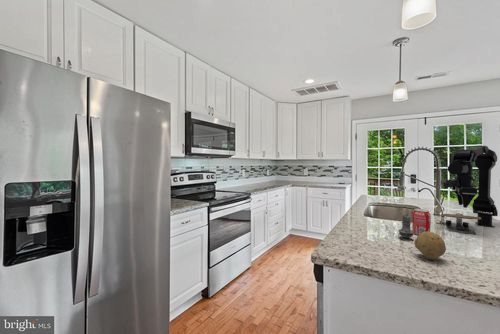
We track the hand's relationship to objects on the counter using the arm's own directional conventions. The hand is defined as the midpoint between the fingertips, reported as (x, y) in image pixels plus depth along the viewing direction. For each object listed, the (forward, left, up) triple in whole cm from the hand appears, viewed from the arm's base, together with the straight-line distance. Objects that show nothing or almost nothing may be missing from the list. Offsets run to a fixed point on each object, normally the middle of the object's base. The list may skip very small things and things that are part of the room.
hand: (462, 206), depth 113 cm
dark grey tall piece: (+27, -23, -14) cm, 38 cm away
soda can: (+15, -17, -14) cm, 26 cm away
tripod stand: (-8, 0, -13) cm, 16 cm away
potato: (+47, -16, -14) cm, 51 cm away
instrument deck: (-8, 0, -7) cm, 11 cm away
